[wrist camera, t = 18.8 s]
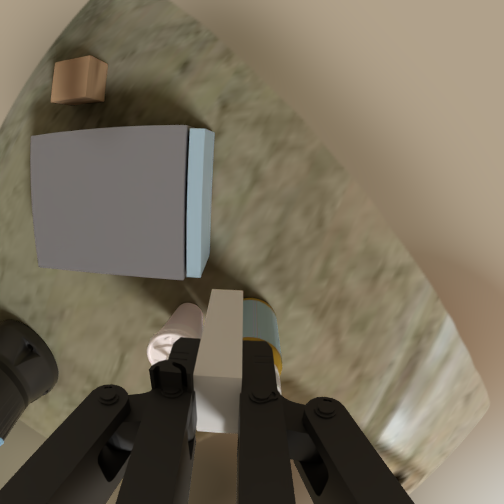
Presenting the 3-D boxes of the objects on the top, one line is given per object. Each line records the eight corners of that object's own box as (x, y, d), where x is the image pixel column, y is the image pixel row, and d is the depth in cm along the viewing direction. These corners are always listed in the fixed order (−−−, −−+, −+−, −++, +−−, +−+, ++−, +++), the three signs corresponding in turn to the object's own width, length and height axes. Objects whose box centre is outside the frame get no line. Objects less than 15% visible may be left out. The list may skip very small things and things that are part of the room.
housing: (70, 246, 39) (38, 266, 32) (66, 135, 35) (30, 136, 27) (196, 254, 40) (183, 280, 32) (200, 130, 35) (186, 125, 27)
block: (71, 105, 33) (50, 102, 29) (75, 69, 32) (55, 62, 27) (104, 101, 33) (85, 96, 29) (108, 64, 32) (90, 55, 27)
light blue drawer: (79, 246, 39) (50, 265, 32) (76, 136, 34) (43, 137, 27) (209, 254, 39) (200, 277, 32) (214, 132, 35) (205, 128, 28)
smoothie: (177, 285, 41) (145, 346, 27) (221, 307, 42) (208, 375, 28) (159, 322, 42) (127, 388, 29) (201, 342, 43) (183, 414, 30)
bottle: (226, 292, 41) (213, 364, 27) (280, 299, 41) (293, 373, 27) (220, 337, 43) (208, 416, 29) (271, 343, 43) (277, 423, 29)
